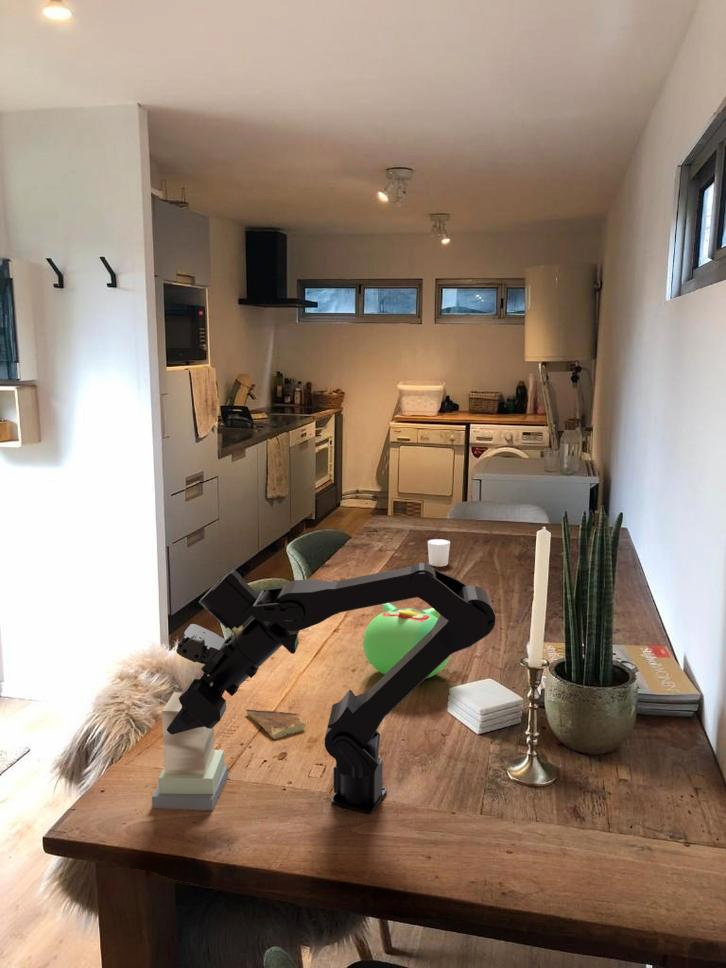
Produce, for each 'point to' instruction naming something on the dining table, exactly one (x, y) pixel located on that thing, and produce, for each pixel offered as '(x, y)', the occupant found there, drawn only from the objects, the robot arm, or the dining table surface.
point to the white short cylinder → (438, 552)
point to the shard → (277, 722)
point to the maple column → (185, 744)
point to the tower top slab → (193, 779)
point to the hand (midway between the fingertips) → (178, 716)
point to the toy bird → (397, 635)
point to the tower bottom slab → (190, 797)
